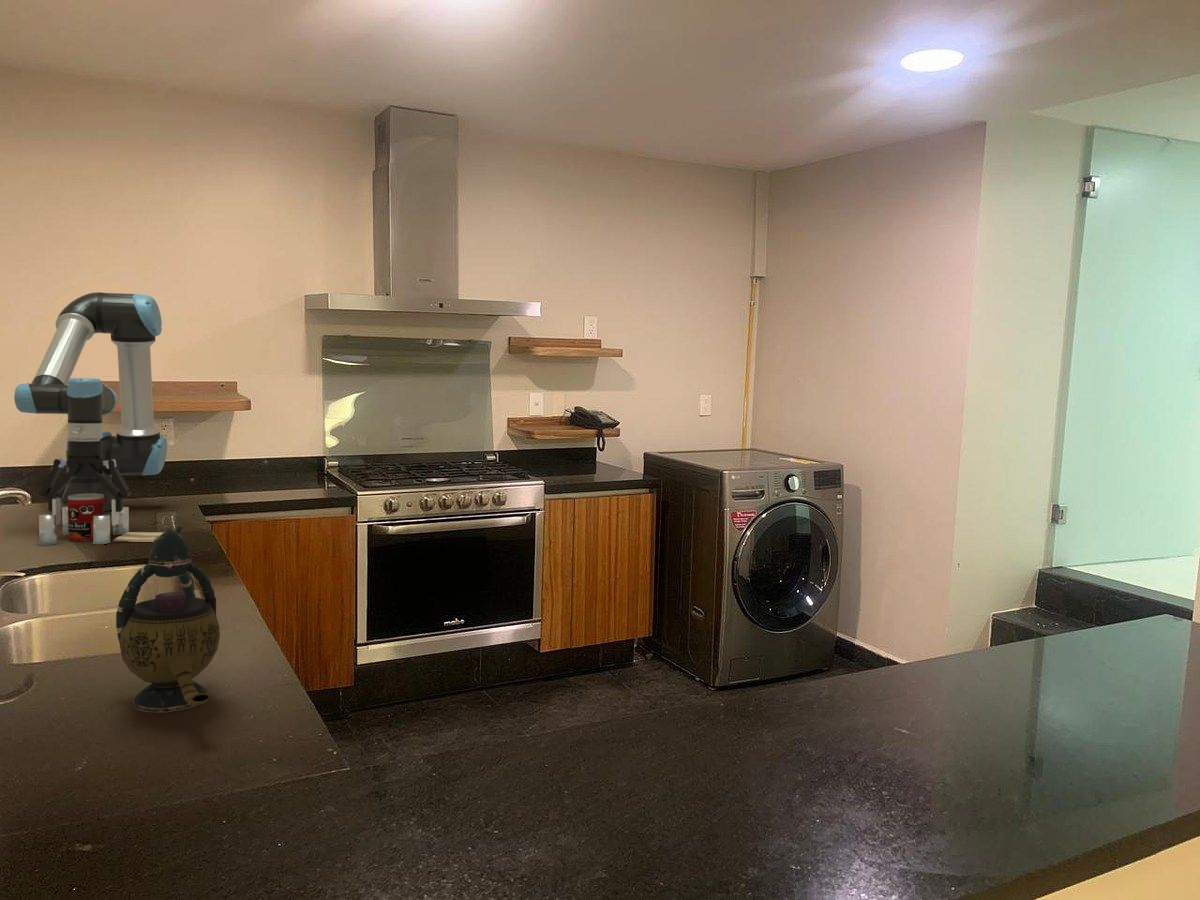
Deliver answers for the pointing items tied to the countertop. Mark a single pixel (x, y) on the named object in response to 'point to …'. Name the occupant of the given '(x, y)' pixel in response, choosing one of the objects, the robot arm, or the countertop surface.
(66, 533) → the cylinder
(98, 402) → the robot arm
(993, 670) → the countertop surface
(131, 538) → the coaster
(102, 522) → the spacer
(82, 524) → the canned food
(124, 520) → the cylinder
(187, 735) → the countertop surface
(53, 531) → the cylinder
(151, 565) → the teapot
